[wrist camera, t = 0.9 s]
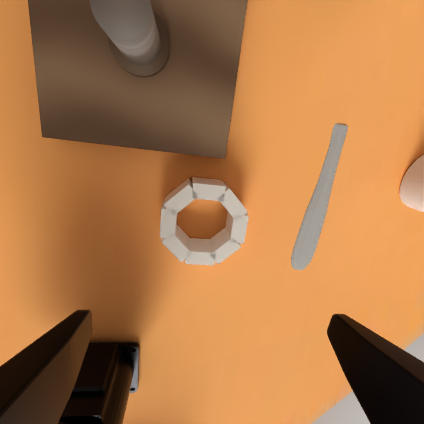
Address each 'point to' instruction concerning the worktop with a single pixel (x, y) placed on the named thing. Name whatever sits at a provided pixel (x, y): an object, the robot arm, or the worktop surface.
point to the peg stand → (138, 71)
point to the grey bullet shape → (413, 186)
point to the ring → (194, 247)
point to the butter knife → (318, 203)
